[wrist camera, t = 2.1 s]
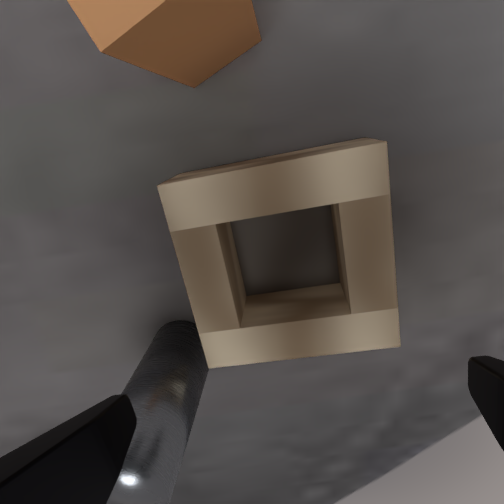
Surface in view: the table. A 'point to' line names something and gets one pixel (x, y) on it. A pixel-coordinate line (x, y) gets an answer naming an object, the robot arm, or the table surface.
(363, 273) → the socket block
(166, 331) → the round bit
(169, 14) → the square bit
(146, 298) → the table surface
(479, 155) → the table surface
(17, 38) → the table surface
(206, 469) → the table surface
